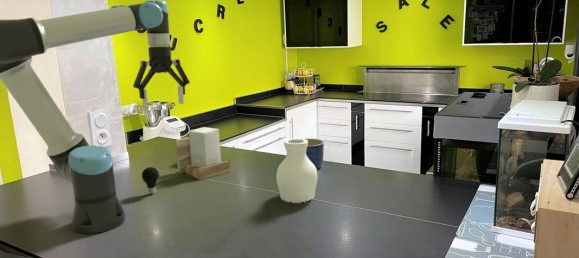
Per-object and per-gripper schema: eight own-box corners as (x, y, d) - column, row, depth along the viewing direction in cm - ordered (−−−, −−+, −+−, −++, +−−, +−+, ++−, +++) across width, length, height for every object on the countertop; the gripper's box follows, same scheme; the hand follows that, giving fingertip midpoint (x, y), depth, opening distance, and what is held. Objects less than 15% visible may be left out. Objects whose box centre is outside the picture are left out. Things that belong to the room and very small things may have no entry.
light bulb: (163, 193, 157) (161, 167, 154) (149, 198, 152) (146, 171, 150) (155, 189, 160) (152, 164, 158) (140, 194, 156) (137, 167, 154)
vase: (292, 186, 159) (290, 134, 155) (325, 194, 151) (325, 138, 147) (268, 199, 148) (266, 143, 144) (303, 207, 140) (301, 148, 136)
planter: (305, 161, 190) (304, 137, 188) (329, 165, 183) (329, 140, 181) (288, 168, 181) (288, 143, 178) (313, 173, 173) (313, 147, 171)
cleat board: (234, 170, 180) (232, 138, 177) (194, 180, 169) (192, 146, 166) (216, 163, 191) (214, 132, 188) (178, 172, 180) (175, 139, 177)
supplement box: (222, 163, 180) (219, 128, 177) (206, 169, 173) (203, 133, 170) (206, 160, 185) (204, 126, 182) (190, 165, 178) (188, 130, 175)
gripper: (187, 45, 163) (190, 101, 167) (119, 47, 147) (125, 108, 152) (196, 45, 157) (199, 103, 161) (127, 47, 142) (133, 110, 146)
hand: (163, 105), depth 157 cm, fingers open, 13 cm apart
